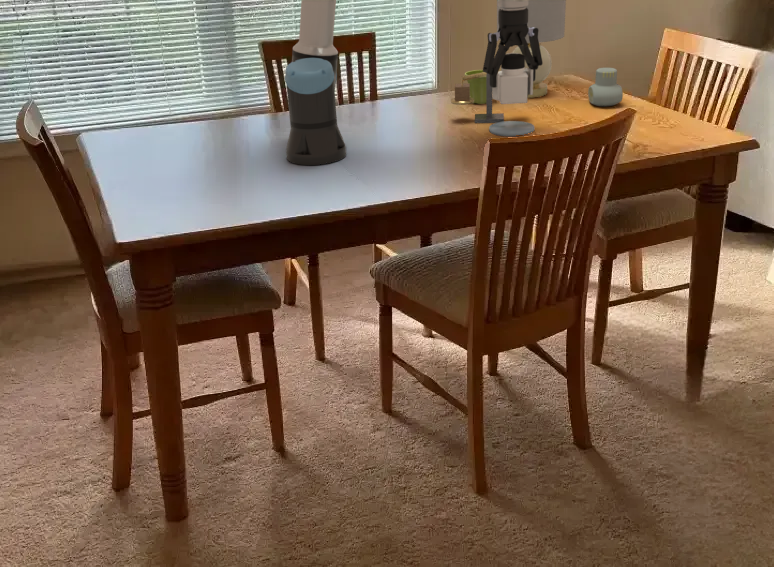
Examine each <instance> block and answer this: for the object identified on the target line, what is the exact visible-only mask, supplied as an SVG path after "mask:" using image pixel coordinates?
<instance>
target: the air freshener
mask: <svg viewBox="0 0 774 567" xmlns="http://www.w3.org/2000/svg"><path fill="white" fill-rule="evenodd" d="M617 79H618V70H617V69H616V68H614V67H599V68H597V69H596V70H595V83H593V84H592V85H590V86H589V87H588V91H587V96H588V100H589V102H590V104H592V105H594V106H597V107H612V106H615V105H617V104H620V102H622V100H623V97H624V94H623V88H622V86H621V85H620V84H618V83H617Z"/></svg>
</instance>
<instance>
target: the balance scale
mask: <svg viewBox="0 0 774 567" xmlns="http://www.w3.org/2000/svg"><path fill="white" fill-rule="evenodd" d="M499 71H501V68H500V69H499ZM499 71H498V72H499ZM497 74H498V73H497ZM485 76H486V104H485V105H486V112H485V113H474V124H495V123H498V122H504V121H505V116H504V112H503V113H493V99H492V87H490V75H489V74H488V73H485V72H482V73H477V74H472V75H467V76H465V75H463V76H461V79H460V80H461V83H455V85H454V97H453V98H451V99H450V104H453V105H457V106H458V105H459V106H461V105H462V106H463V105H470V104H474V103H473V102H474V99H473V98H471V97H470V83H468V82H467V83H464V82H465V81H467V80H470V79H475V78H480V77H485Z"/></svg>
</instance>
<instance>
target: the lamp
mask: <svg viewBox="0 0 774 567" xmlns="http://www.w3.org/2000/svg"><path fill="white" fill-rule="evenodd" d="M566 5H567V0H528V6H527V7H526V8H527V9H528V23H527V26H528V28H530V27H535V28H538V30H539V31H538V41H539V46H540V52H541V57H542V62H543V64H542V65H541V66H540V65H539V66H538V69H537V70H536V75H535V81H533V95H529V94H528V99H534V97H538V98H541V97H540V96H543V97H545V96H546V94H547V95H548V84H547V83H546V82H544V81H545V80H546V79H547V77H548V76H549V75H550V72H551V70H552V64H553V63H552V56H551V54H550V52H549V51H548V49H547V48H546V47H545V46H544V45H541V43H547V42H554V41H558V40H561V39H563V38H564V37H565V30H566V29H565V27H566V9H567V8H566ZM499 9H501V8H500V7H499V6H498V0H496V32H498V30H499V23H498V11H499ZM525 39H526V41H527V43H528V48H529V50H530V52H531V54H532V51H531V46H530V41H529V35H528V34H527V35H526V37H525ZM500 40H501V39H500V38H498V41H500ZM511 53H519V54H522V52H521V50H520V48H519V46H516V47H515V48H514V49H513V51H511ZM532 57H533V56H532ZM525 68H529V67H528V65H527V63H526V61H525ZM544 95H545V96H544Z"/></svg>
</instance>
